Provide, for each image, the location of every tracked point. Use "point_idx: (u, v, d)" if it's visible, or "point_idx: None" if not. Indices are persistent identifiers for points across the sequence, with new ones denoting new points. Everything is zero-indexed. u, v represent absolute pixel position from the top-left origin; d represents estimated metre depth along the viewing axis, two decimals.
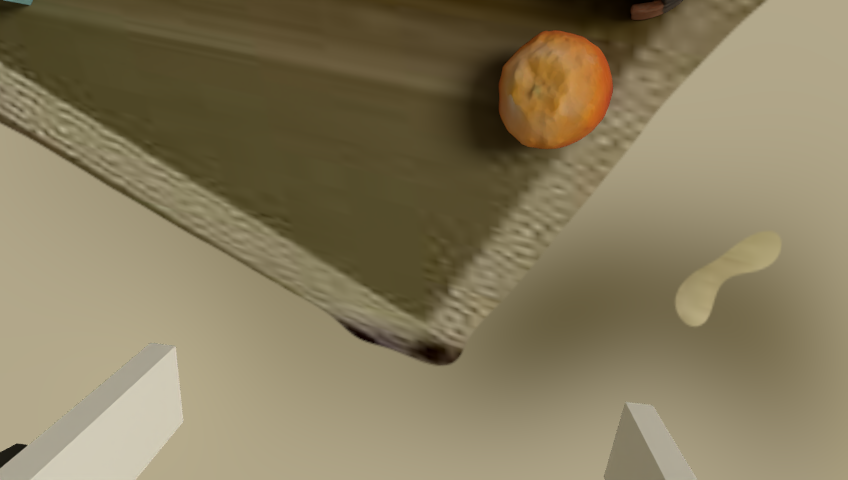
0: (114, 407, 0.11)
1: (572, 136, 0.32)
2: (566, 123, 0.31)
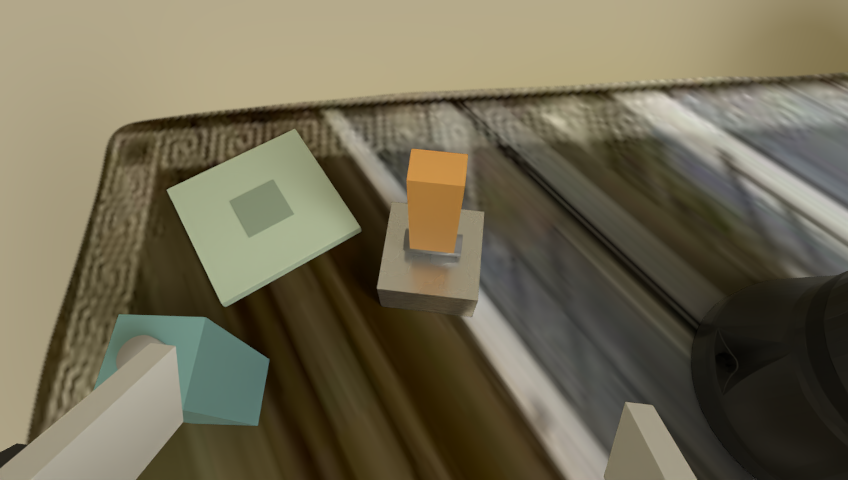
0: (114, 407, 0.11)
1: None
2: None
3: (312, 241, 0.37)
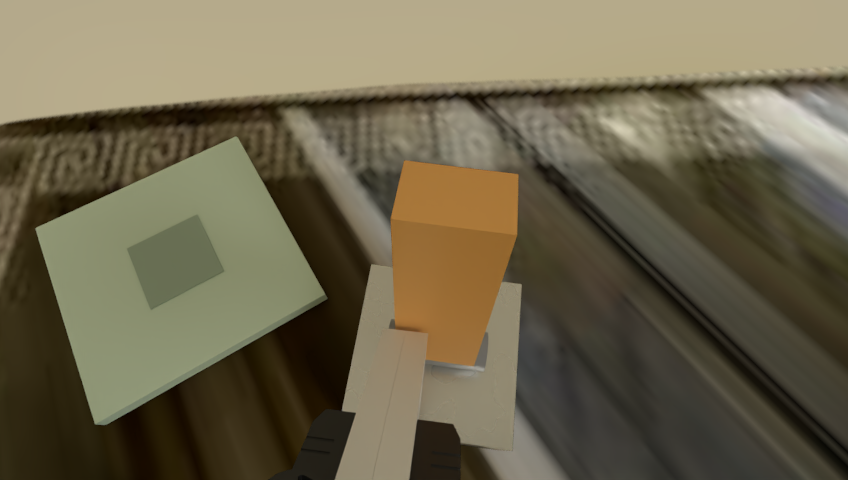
0: (394, 380, 0.13)
1: None
2: None
3: (249, 317, 0.23)
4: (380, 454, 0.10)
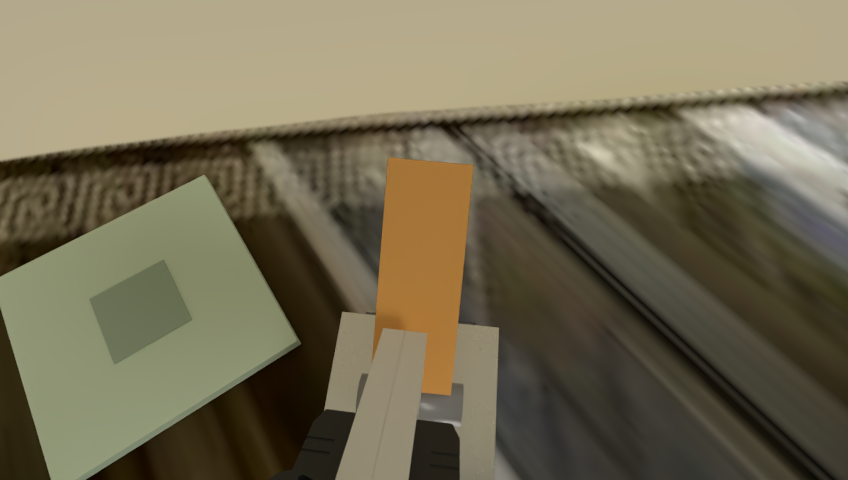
0: (395, 380, 0.13)
1: None
2: None
3: (218, 368, 0.22)
4: (380, 454, 0.10)
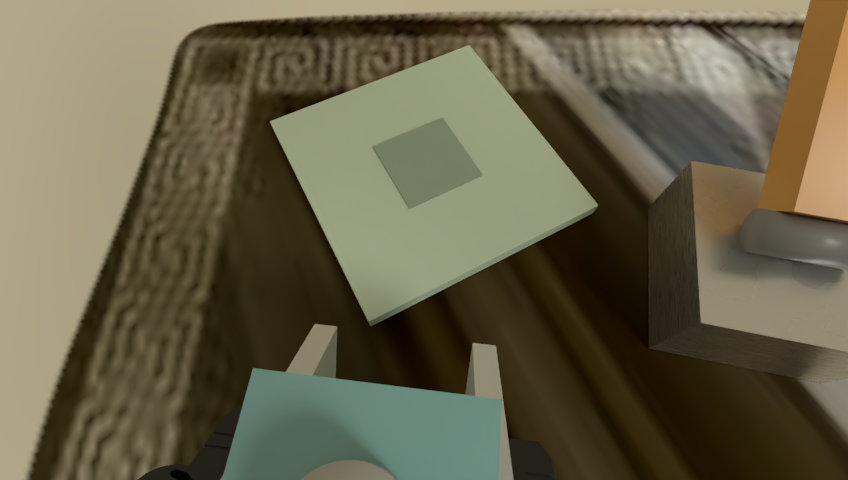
0: None
1: None
2: None
3: (519, 223, 0.21)
4: None
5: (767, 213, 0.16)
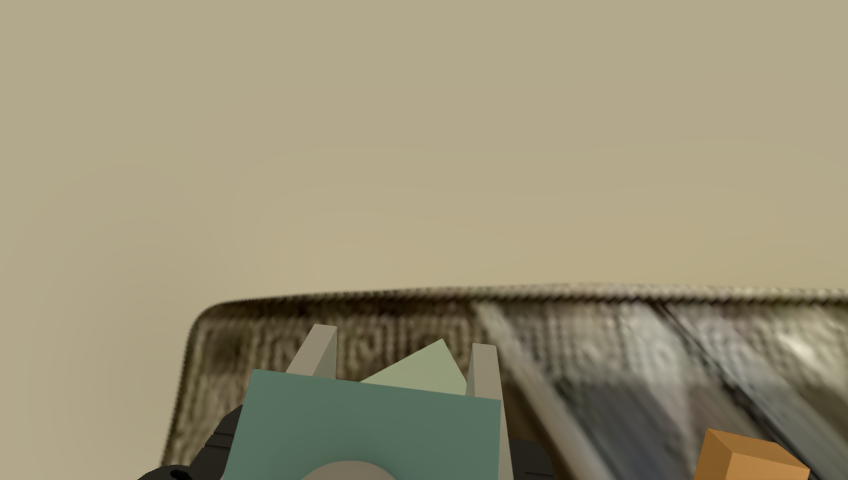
0: (314, 375, 0.13)
1: None
2: None
3: None
4: None
5: None
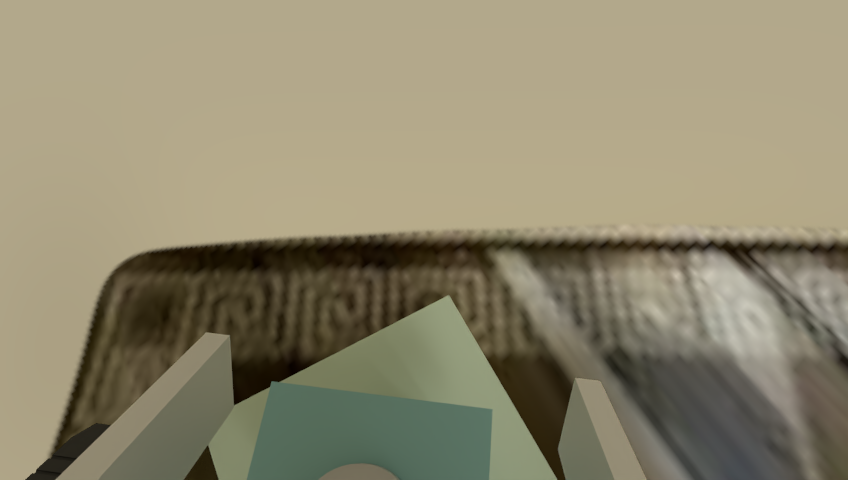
0: (183, 390, 0.12)
1: None
2: None
3: None
4: (102, 478, 0.09)
5: None
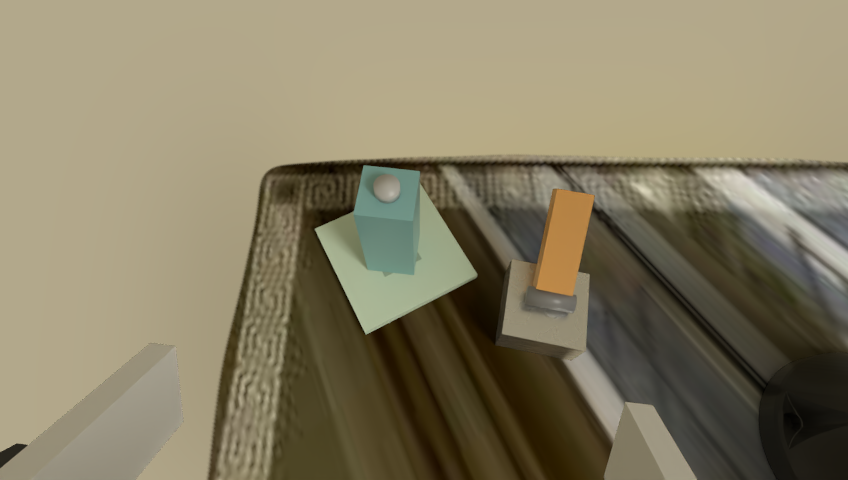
0: (114, 407, 0.11)
1: None
2: None
3: (438, 284, 0.44)
4: None
5: (529, 288, 0.38)
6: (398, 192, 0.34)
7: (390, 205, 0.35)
